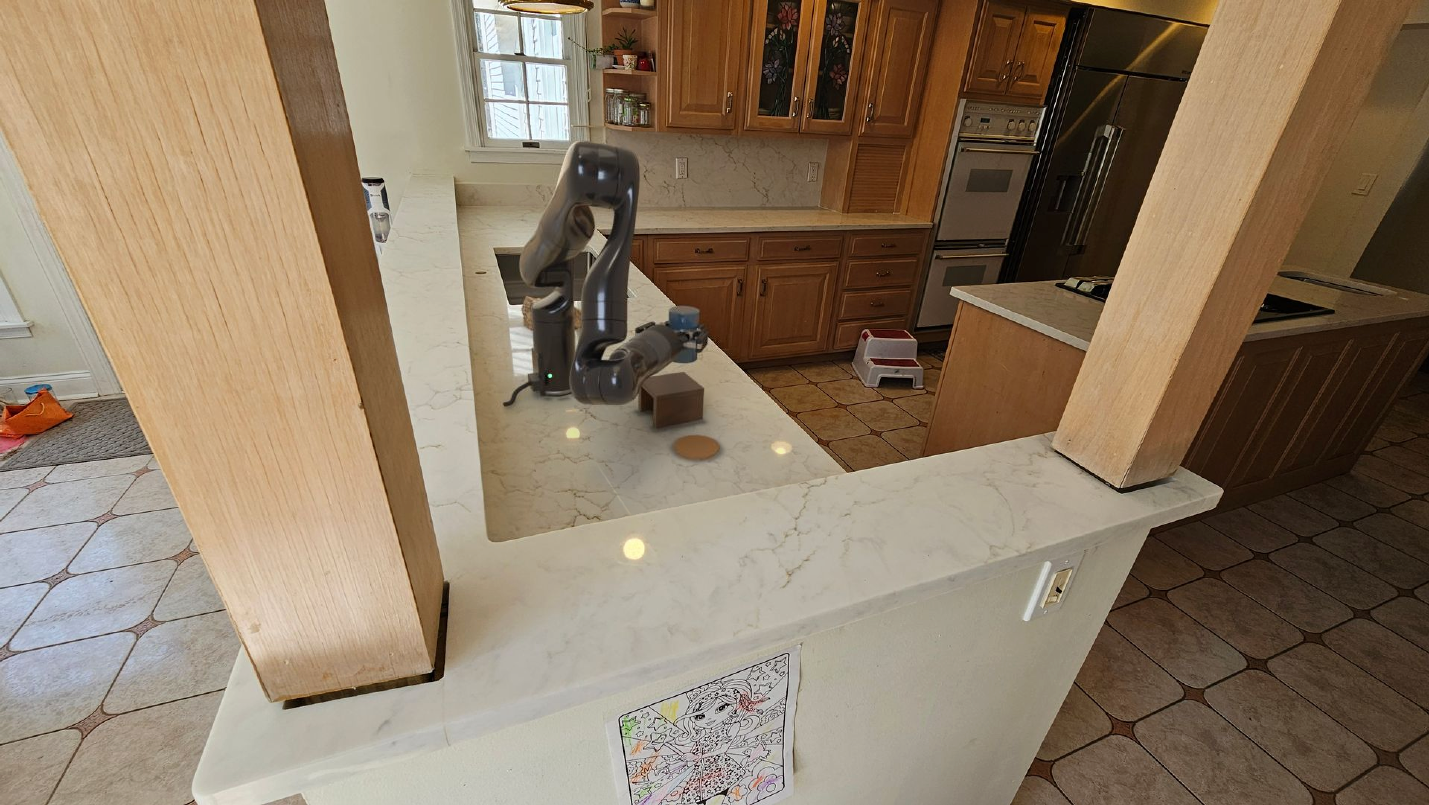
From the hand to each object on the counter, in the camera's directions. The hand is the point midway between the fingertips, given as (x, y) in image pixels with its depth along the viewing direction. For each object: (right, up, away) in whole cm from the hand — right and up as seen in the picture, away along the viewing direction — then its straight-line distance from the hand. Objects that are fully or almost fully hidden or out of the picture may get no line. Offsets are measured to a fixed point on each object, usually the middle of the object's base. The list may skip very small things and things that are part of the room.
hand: (688, 326), depth 122 cm
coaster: (+2, -24, 0) cm, 25 cm away
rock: (-41, +5, +58) cm, 71 cm away
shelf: (-5, -18, +12) cm, 22 cm away
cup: (-1, -6, 0) cm, 6 cm away
